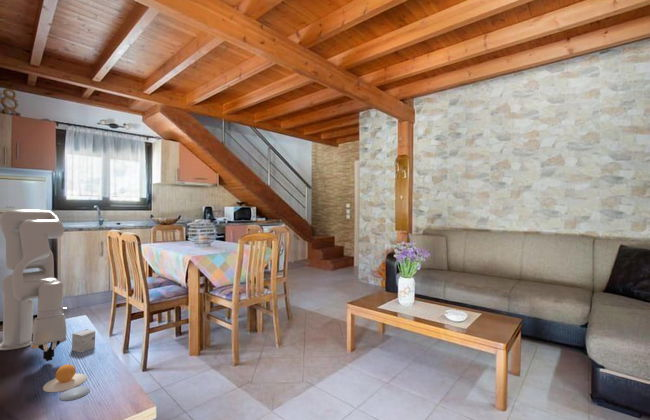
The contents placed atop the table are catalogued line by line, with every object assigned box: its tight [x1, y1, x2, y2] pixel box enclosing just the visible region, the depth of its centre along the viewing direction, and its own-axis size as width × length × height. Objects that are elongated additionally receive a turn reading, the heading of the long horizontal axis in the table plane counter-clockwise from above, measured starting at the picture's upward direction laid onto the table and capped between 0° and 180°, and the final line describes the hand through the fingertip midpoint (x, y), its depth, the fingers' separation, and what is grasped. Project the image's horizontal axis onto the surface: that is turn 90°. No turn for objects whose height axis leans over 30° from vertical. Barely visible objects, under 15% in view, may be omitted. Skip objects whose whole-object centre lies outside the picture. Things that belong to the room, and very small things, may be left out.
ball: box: [54, 364, 77, 382], centre depth 114 cm, size 6×6×6 cm
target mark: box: [42, 373, 88, 393], centre depth 113 cm, size 12×12×1 cm
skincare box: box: [71, 328, 96, 353], centre depth 140 cm, size 6×6×7 cm
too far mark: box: [59, 386, 91, 402], centre depth 107 cm, size 8×8×1 cm
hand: (48, 359), depth 126 cm, fingers closed
